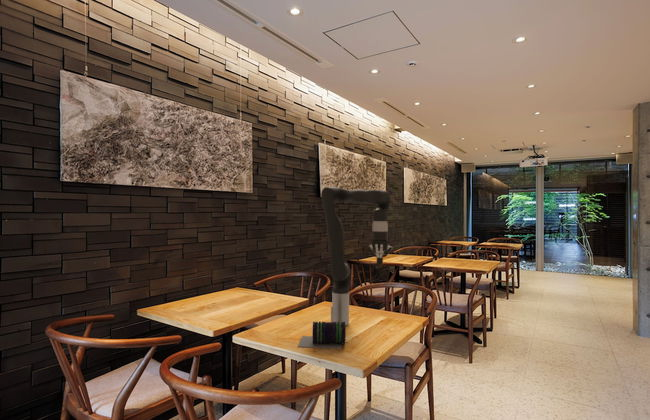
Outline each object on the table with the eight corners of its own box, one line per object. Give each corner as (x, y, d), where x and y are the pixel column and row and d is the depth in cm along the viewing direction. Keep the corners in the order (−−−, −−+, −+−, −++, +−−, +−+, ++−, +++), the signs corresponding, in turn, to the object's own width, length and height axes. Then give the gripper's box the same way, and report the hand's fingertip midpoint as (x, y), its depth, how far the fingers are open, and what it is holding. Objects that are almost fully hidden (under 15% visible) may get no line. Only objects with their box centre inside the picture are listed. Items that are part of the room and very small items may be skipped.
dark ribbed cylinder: (344, 342, 175) (313, 342, 175) (344, 321, 178) (313, 320, 178) (345, 345, 166) (312, 344, 166) (345, 322, 168) (312, 321, 168)
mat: (297, 347, 167) (297, 346, 167) (302, 336, 181) (302, 336, 181) (341, 348, 165) (341, 348, 165) (343, 338, 179) (343, 337, 179)
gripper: (365, 230, 182) (364, 265, 182) (392, 231, 177) (391, 267, 177) (368, 229, 189) (368, 263, 189) (394, 230, 184) (394, 265, 184)
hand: (379, 265), depth 183 cm, fingers closed
